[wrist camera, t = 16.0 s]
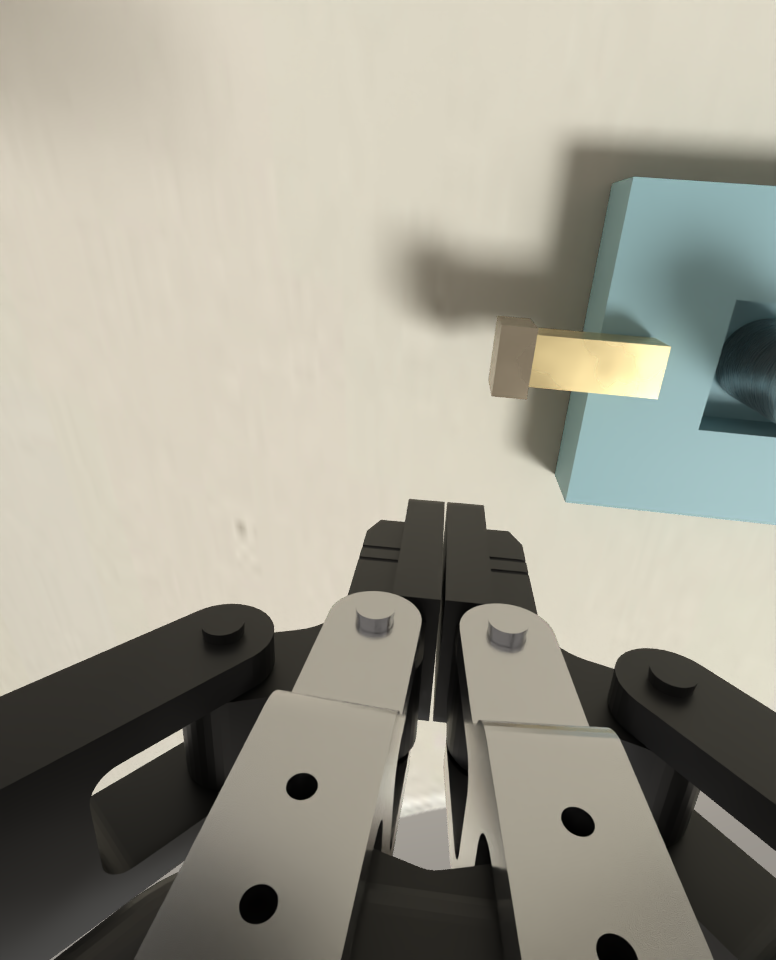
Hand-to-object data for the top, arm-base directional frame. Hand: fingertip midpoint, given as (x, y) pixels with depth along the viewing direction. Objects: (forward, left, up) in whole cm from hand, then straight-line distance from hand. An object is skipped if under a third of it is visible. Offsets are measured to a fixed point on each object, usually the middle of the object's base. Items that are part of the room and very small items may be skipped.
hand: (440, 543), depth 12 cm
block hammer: (-1, +7, -19) cm, 21 cm away
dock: (-1, +16, -24) cm, 29 cm away
